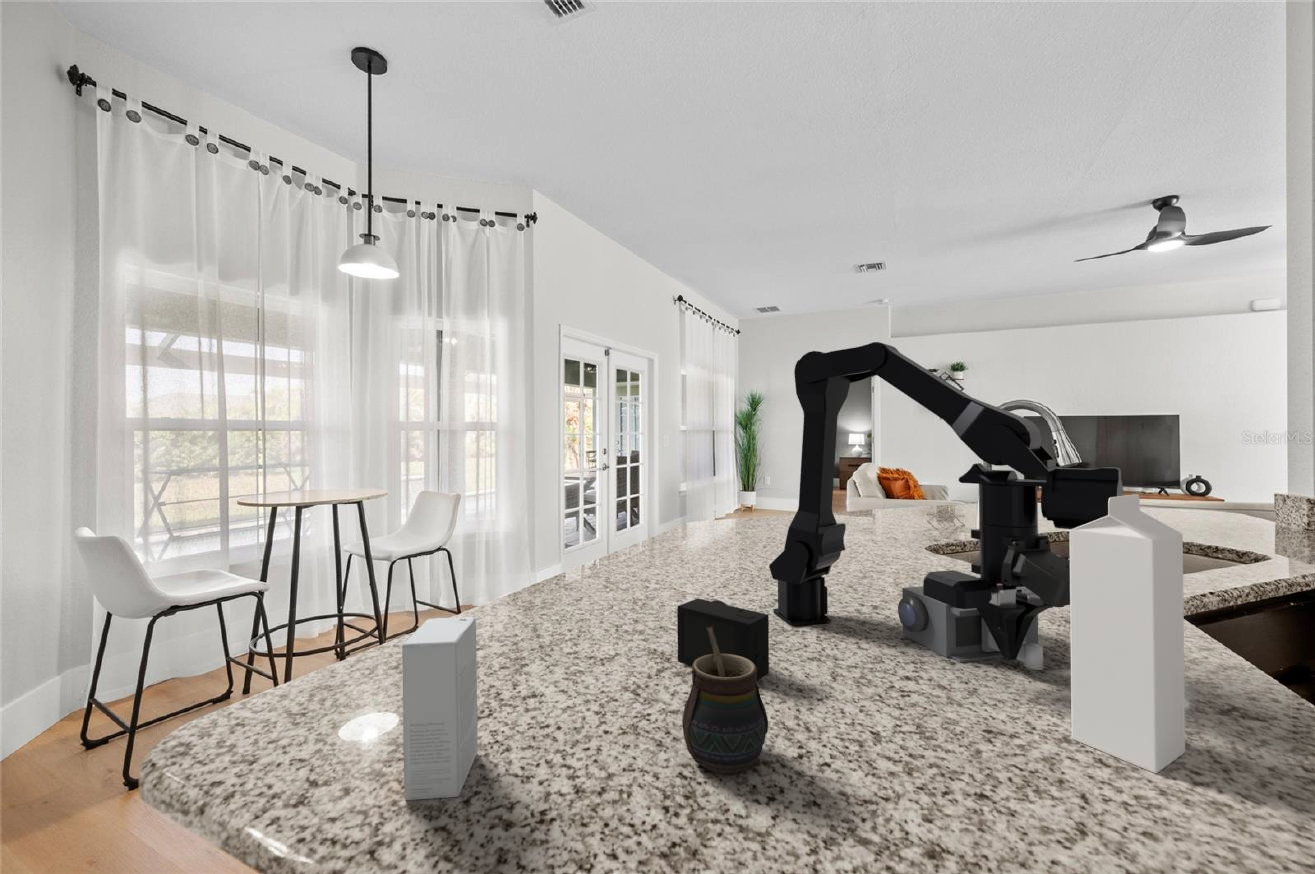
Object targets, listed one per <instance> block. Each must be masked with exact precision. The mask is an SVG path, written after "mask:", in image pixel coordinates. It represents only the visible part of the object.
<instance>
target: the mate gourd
mask: <svg viewBox="0 0 1315 874" xmlns="http://www.w3.org/2000/svg"><path fill="white" fill-rule="evenodd" d="M706 628H707V631H708V633H709V638H710V642H711V644H712V648H713V652H714V654H710V655H705V656H702V657H700V658H698V659H696V660H695V661H694V662H693V664H692V666H691V673H692V674H691V675H692V676H691V679H692V684H691V689H690V692H689V694H688V698H687V699H686V702H685V703H684V708H683V709H684V710H683V712H682V719H681V720H682V721H681V724H682V726H681V727H682V732H683V738H684V741H685V744H686V750H687V752H688V753H689V755H690V756H691V758H692V759H693V761H694V762H695V763H696V764H698V766H702V767H703V768H705V769H707V770H708V771H711V772H714V773H719V774H723V775H731V774H738V773H740V772H743V771H745V770H746V769H748V768H749V767H751V766H752V765H753V764H755V762H756V761H757V760H758V759H759V757H760V756H761V754H762V752H763V748H764V747H763V746H764V745H765V741H766V735H767V734H768V732H769V729H768V728H769V719H768V714H767V711H766V710H767V709H766V707H765V706H764V701H763V700H762V697H761V694H760V689H759V687H758V681H757V668H756V666H755V664H754V663H753V662H751V661H750V660H748V659H746V658H744V657H741V656H737V655H732V654H720V651H719V648H718V645H717V641H716V637H715V636H714V631H713V627H706Z"/></svg>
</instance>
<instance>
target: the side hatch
mask: <svg viewBox="0 0 1315 874" xmlns="http://www.w3.org/2000/svg"><path fill="white" fill-rule="evenodd" d="M1043 648H1044V646H1042V645H1041V644H1039V643H1038V644H1036V643H1026V636H1025V639H1024V641H1023V644H1022V646H1021V648H1020V651H1019V653H1018V656H1017V658H1016V660H1018V661H1020V662H1022V663H1023V666H1024V667H1026V668H1027V669H1030V670H1036V671H1041V670H1043V669H1044V652H1043ZM982 650H983V651H985V652H991V651H1000V650H999V648H998V646H997V644H996V642H995V640H994V639H993V637H992V635H991V633H990V631H989V629H988V627H987V625H986V623H985V621H984V619H983V618H982Z"/></svg>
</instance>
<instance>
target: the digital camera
mask: <svg viewBox="0 0 1315 874" xmlns="http://www.w3.org/2000/svg"><path fill="white" fill-rule="evenodd" d="M676 608H677V611H676V613H677V614H676V615H677V616H676V617H677V622H676V623H677V625H676V626H677V627H676V629H677V663H681V664H684V665H687V666H689V667H692V664H693V662H694V661H695V660H696V659H698V658H700V657H702V656H705V655H710V654H714V652H713V648H712V644H711V642H710V638H709V633H708V631H707V628H706V627H713V631H714V636H715V637H716V641H717V645H718V648H719V651H720V654H732V655H737V656H741V657H744V658H746V659H748V660H750V661H751V662H753V663H754V664H755V666H756V668H757V682H759V681H761V680H762V679H763V678H765V677H767V675H769V674H770V654H769V653H770V650H769V649H770V648H769V646H770V643H769V642H770V640H769V639H770V637H769V636H770V630H769V627H770V625H769V624H770V623H769V622H770V621H769V614H766V613H763V612H758V611H754V610H749V609H747V608H746V609H745V608H741V607H737V606H733V605H729V604H726V603H725V602H724V601H722V600H719V599H717V600H711V601H710V600H708V599H707V600H706V599H702V598H695V599H692V600H690V601H687V602H685V603H682V604H679V605H677V607H676Z"/></svg>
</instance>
